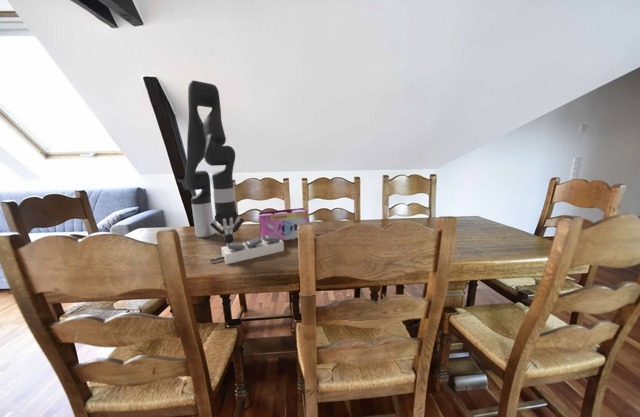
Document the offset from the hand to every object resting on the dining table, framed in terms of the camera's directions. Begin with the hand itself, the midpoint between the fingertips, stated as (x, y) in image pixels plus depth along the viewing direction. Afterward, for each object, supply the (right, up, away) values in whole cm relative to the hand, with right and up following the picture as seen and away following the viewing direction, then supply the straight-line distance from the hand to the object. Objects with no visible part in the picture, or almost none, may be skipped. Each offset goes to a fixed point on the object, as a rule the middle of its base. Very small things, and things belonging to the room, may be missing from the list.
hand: (229, 242), depth 100 cm
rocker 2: (+8, -1, +5) cm, 10 cm away
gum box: (+18, -1, +27) cm, 33 cm away
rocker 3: (+15, 0, +9) cm, 17 cm away
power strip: (+5, -6, +7) cm, 10 cm away
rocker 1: (+2, -2, +2) cm, 3 cm away
